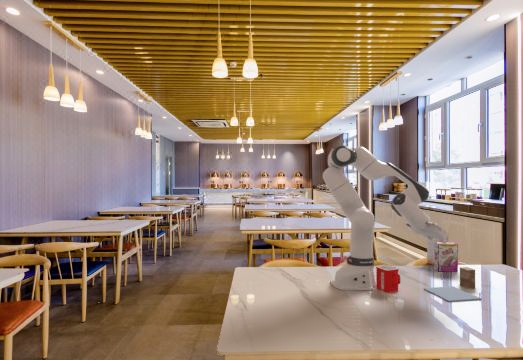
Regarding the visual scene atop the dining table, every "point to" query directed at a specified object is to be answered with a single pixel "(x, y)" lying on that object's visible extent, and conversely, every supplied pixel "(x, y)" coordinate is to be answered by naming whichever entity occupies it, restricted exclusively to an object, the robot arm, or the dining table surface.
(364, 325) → the dining table surface
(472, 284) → the walnut block
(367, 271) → the robot arm
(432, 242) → the cracker box
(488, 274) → the dining table surface
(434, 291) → the rubber mat
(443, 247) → the candy bar box
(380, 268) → the mug
